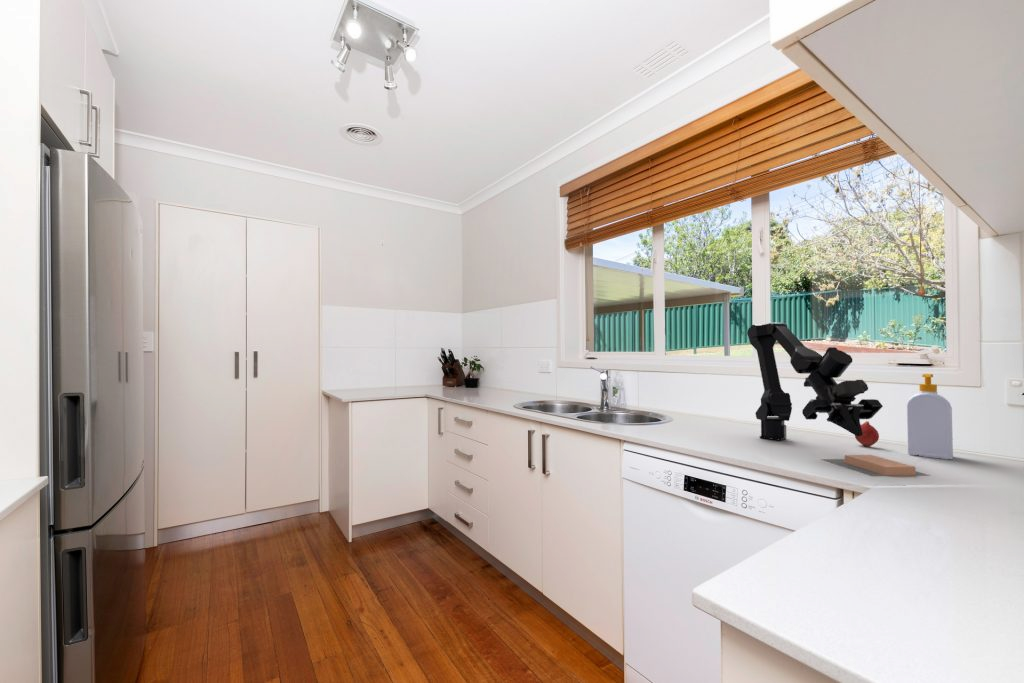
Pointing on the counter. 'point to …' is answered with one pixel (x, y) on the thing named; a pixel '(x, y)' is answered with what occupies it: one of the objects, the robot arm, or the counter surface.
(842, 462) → the charcoal mat
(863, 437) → the onion
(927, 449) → the soap bottle
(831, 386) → the robot arm
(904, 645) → the counter surface
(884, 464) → the terracotta block
